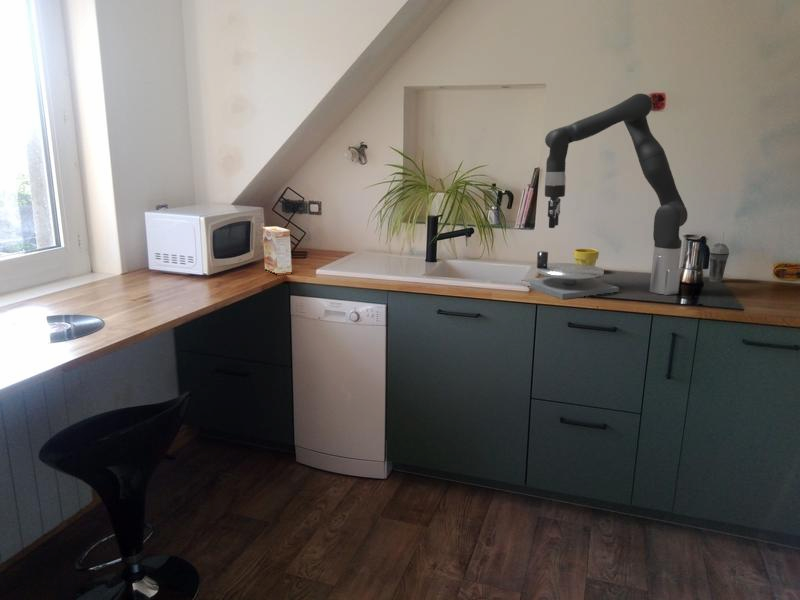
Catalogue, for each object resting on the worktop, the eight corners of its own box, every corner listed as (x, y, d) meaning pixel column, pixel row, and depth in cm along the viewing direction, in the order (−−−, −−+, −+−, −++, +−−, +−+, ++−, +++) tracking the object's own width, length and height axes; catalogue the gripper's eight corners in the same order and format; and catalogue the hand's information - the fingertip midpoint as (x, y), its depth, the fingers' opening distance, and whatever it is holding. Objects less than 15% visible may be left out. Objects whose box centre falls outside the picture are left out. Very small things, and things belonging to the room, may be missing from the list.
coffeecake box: (264, 270, 270) (261, 227, 266) (279, 268, 274) (276, 225, 270) (277, 276, 258) (274, 230, 254) (292, 274, 262) (290, 229, 257)
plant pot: (576, 274, 260) (577, 252, 258) (569, 269, 270) (571, 248, 268) (600, 274, 260) (602, 252, 258) (592, 269, 270) (594, 248, 268)
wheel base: (618, 292, 228) (619, 277, 226) (562, 299, 218) (563, 283, 217) (573, 279, 251) (574, 265, 250) (521, 284, 241) (521, 270, 240)
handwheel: (558, 264, 250) (559, 246, 248) (615, 272, 233) (617, 253, 231) (523, 272, 233) (524, 253, 232) (581, 282, 216) (583, 261, 214)
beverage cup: (701, 280, 249) (707, 231, 244) (713, 278, 252) (719, 230, 247) (717, 283, 243) (724, 234, 238) (729, 281, 246) (736, 233, 241)
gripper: (548, 183, 237) (546, 224, 240) (541, 184, 224) (540, 228, 228) (567, 183, 234) (566, 225, 238) (562, 184, 221) (560, 229, 225)
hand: (553, 226), depth 233 cm, fingers open, 8 cm apart
